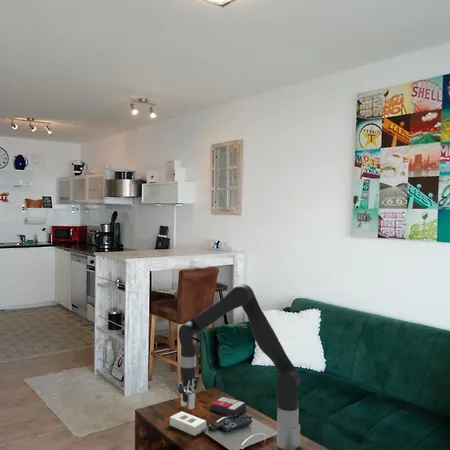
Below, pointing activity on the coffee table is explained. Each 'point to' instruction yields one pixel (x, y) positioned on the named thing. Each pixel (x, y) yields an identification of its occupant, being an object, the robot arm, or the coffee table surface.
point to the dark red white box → (228, 406)
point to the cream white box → (187, 423)
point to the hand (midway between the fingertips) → (187, 400)
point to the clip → (191, 399)
